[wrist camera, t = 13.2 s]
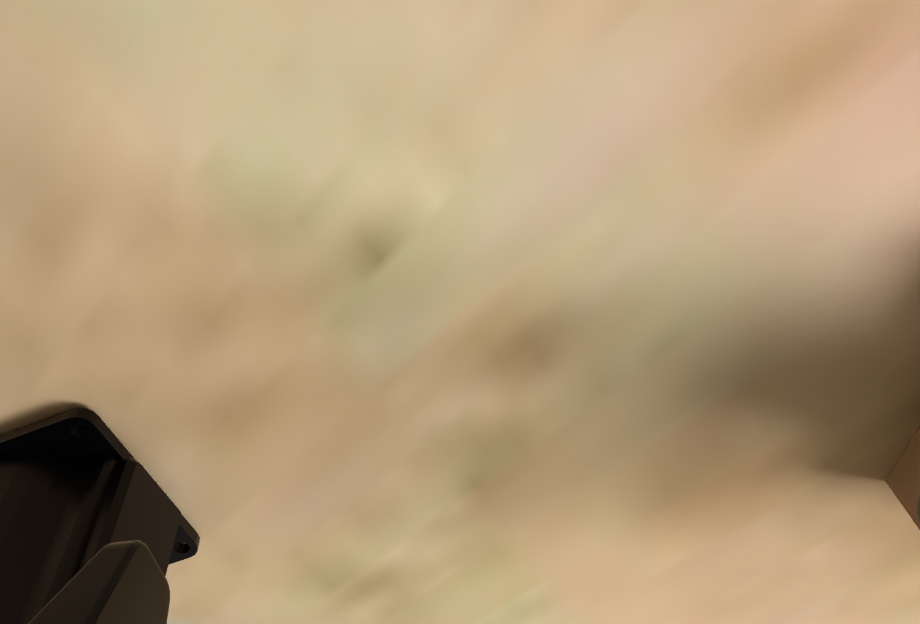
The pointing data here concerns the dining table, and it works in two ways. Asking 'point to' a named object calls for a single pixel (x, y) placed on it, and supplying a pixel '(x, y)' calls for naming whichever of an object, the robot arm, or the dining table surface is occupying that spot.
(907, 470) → the walnut block
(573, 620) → the dining table surface
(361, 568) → the dining table surface
